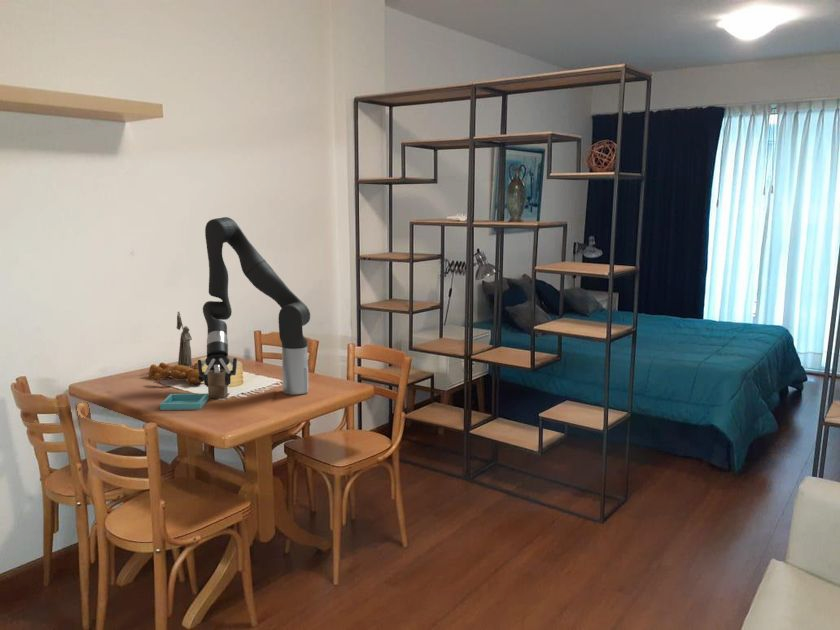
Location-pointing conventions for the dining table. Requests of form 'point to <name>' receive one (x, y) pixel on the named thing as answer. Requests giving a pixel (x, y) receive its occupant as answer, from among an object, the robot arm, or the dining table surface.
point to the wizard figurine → (184, 344)
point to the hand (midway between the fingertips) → (217, 385)
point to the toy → (176, 372)
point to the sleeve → (217, 384)
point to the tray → (184, 402)
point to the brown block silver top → (217, 370)
